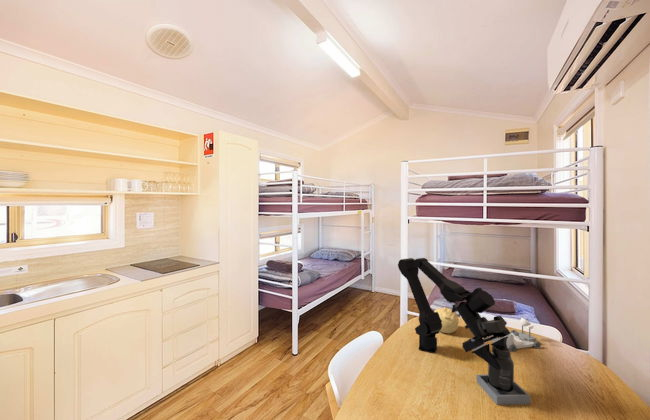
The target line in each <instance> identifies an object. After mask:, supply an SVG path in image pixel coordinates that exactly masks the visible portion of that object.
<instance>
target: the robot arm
mask: <svg viewBox="0 0 650 420" xmlns="http://www.w3.org/2000/svg"><path fill="white" fill-rule="evenodd" d="M397 268H398V270H399V271H400V273H401V275H402V276H403V277H404V278H405V279H406V280H407V284H408V285H409V288H410V291H411V293H412V295H413V299H414V301H415V304H416V306H417V309H418V312H419V313H418V321H419V322H418V323H419V325H417V326H416V327H415V328H414V330H415V334H416V335H418V337H419V338H418V339H419V340H418V343H419V345H418V350H419V351H422V352H427V353H431V354H436V351H437V350H438V337H436V336H437V334H438V335H439V333H440V332H441V331H440V330H441V328H442V323H441V322H442V320H441V319H440V316H439V313H438V312H434V311H435V310H433V309H432V307H431V305H430V302H429V301H428V298H427V295H426V292H425V291H424V288H423V286H422V283H421V280H420V278H419V272H420V271H421V272H422V274H424V275H425V276H426V277H427V278H428V279H429V280H431V282H433V284H434V285H435V286H436V287H438V289H439V292H440V294H441V295H442V297H443V298H444V299H445V300H446V301H447V302H448V303H450V304H451V303H452V308H451V310H452V312H453V313H454V312H456V313H458V314H459V316H460V317H461V319H462V321H463V322H464V324H465V325H464V328H465V329H466V330H468V329H469V331H470V332H471V334H472V335H473V337H471V338H469V339H467V340H465V341H464V342H462V344H461V345H462V346H461V347H462V349H463V351H464V352H465V353H470V352H471V354H474V355H475V356H477V357H479V358H480V359H481V360H483V361H484V362H486V363H487V364H488V363H489V364H490V365H491V366H492V367H494V368H495V369H496V370H500V367H499V365H498V363H497V362H496V360H495V358H494V357H493V355H492V351H491V350H490V348H491V347H492V346H493V345H500V346H504V347H506V348H508V347H507V345H506V342H507V338H508V336H507V335H509V334H511V333H510V332H511V331H510V330H509V329H508V328H507V327H506V326H507V324H508V322H507V321H506V320H505V319H504V317H503V316H501V315H496V316H494V317H493V319H491V320H489V319H487V317H485V316H481V315H480V314H482V313H484V312H485V311H487V310H488V309H490V308H492V307H494V306H495V304H496V301H495V299H494V297H493V295H492V294H490V293H489V292H488V291H486V290H483V289H482V287H476V288H475V289H474V290H473V291H470V290H468V289H466V288H465V287H463V286H462V285H461V284H459V283H458V282H456V281H453V280H452V279H449V278H447V276H445V275H444V274H443V273H441V271H439V270H438V269H437V268H436V267H435V266H434V265H432V263H430V262H429V259H427V258H425V257H420V258H416V259H415V258H412V257H409V258H402V259H399V261H398V263H397ZM419 270H420V271H419ZM458 302H459V303H458ZM505 336H507V337H505ZM490 341H491V342H492V343H487V342H490ZM486 343H487V344H486ZM490 345H491V347H490ZM510 358H511V359H512V357H511V355H510Z"/></svg>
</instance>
